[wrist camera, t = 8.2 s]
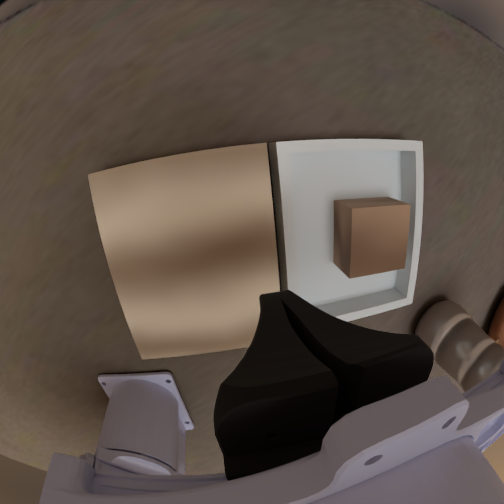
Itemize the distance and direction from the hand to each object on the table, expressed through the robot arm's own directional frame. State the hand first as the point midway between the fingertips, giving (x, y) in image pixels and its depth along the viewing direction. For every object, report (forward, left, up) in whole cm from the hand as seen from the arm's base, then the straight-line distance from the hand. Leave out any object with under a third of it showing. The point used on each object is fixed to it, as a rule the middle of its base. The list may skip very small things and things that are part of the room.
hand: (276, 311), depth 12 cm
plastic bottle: (-12, -19, -10) cm, 25 cm away
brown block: (0, -9, -6) cm, 11 cm away
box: (0, -8, -9) cm, 12 cm away
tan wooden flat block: (0, +4, -9) cm, 10 cm away
